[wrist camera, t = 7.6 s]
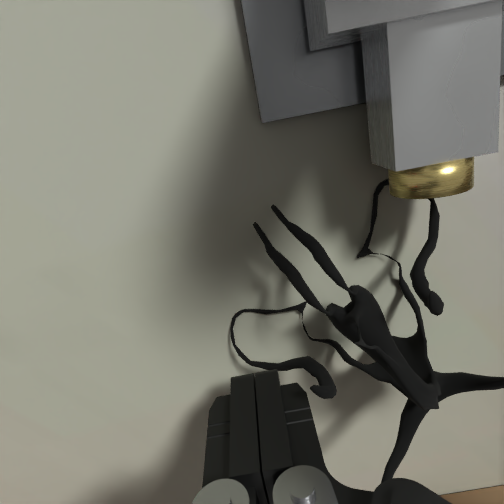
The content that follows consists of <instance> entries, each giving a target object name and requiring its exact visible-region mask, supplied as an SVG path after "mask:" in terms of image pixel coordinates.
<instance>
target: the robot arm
mask: <svg viewBox="0 0 504 504" xmlns="http://www.w3.org/2000/svg"><path fill="white" fill-rule="evenodd" d="M192 504H452V503H450V502H449V501H447V500H445V499H444V498H442V497H441V496H439V495H437V494H436V493H434V492H433V491H431V490H429V489H428V488H426V487H425V486H423V485H421V484H419V483H418V482H415V481H413V480H409V479H405V478H393V479H389V480H387V481H384V482H383V483H381V484H380V485H379V486H378V487H377V488H376V489H375V491H374V492H371V491H365V490H358V489H353V488H350V487H347V486H345V485H343V484H341V483H339V482H338V481H337V480H335V479H334V478H333V477H332V476H331V475H330V473H329V472H328V470H327V468H326V466H325V463H324V459H323V456H322V452H321V448H320V444H319V440H318V436H317V432H316V428H315V424H314V421H313V417H312V413H311V409H310V405H309V401H308V397H307V393H306V392H305V391H304V390H303V389H302V388H301V387H300V386H299V385H298V383H292V384H287V385H281V386H280V381H279V376H278V371H277V369H274V370H269V371H263V372H258V373H255V376H254V373H252V374H247V375H241V376H236V377H231V395H226V396H220V397H217V398H216V400H215V401H214V403H213V405H212V406H211V408H210V410H209V418H208V430H207V441H206V453H205V464H204V475H203V486H202V489H201V490H200V491H199V493H198V494H197V495H196V497H195V498H194V500H193V503H192Z"/></svg>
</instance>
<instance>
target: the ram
mask: <svg viewBox="0 0 504 504" xmlns="http://www.w3.org/2000/svg"><path fill="white" fill-rule="evenodd" d="M304 7H305V15H306V23H307V31H308V39H309V48H310V51H313V50H318V49H323V48H328V47H333V46H338V45H343V44H348V43H353V42H358V41H361V42H362V55H363V67H364V79H365V92H366V104H367V116H368V128H369V141H370V153H371V163H373V164H376V165H379V166H381V167H384V168H387V169H388V174H389V189H390V194H391V195H392V196H394V197H398V198H406V199H428V198H439V197H445V196H451V195H456V194H460V193H463V192H466V191H468V190H470V189H471V188H473V186H474V156H480V155H485V154H490V153H495V152H498V138H499V102H500V66H501V31H502V12H504V0H304Z"/></svg>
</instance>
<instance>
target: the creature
mask: <svg viewBox="0 0 504 504" xmlns="http://www.w3.org/2000/svg"><path fill="white" fill-rule="evenodd" d="M385 185H389V179H388V180H385V181H383V182H381V183H380V184H379V185H378V186H377V188H376V190H375V193H374V198H373V209H372V218H371V227H370V232H369V235H368V237H367V239H366V242H365V244H364V246H363V248H362V250H361V252H360V253H359V255H358V256H357V258H359V257H363V256H366V255H368V254H377V253H373V252H372V251H371V250H370V249H368V246H369V243H370V240H371V236H372V232H373V229H374V225H375V221H376V217H377V204H378V195H379V193H380V192H381V190H382V189H383V187H384V186H385ZM428 199H429V200H430V201H431V205H430V219H429V234H428V240H427V241H426V243H425V245H424V247H423V248H422V250H421V252H420V254H419V255H418V257H417V259H416V261H415V263H414V265H413V268H412V270H411V272H410V278H411V280H412V285H413V288H414V290H415V292H416V293H417V295H418V296H419V297H420V299H421V300H422V301H423V302H424V305H425V306H426V307H427V308H428V309H429V310H430V312H431V313H432V314H434V315H437V316H438V315H440V314H442V312H443V307H444V303H443V302H442V300H441V298H440V297H439V296H438V295H437V294H436V293H435V292H433V291H430V289H429V283H428V281H427V279H426V277H425V272H424V269H425V266H426V263H427V260H428V258H429V257H430V255H431V254H432V252H433V251H434V249H435V247H436V243H437V239H438V230H439V217H440V215H439V213H438V210H437V206H436V203H435V200H434V198H428ZM271 208H272V210H273V211H274V213H275V214H276V215H277V217H278V218H279V219H280V221H281V222H282V223H283V224H284V225H285V226H286V227H287V229H288V230H289V231H290V232H291V233H292V234H293V235H294V236H295V237H296V238H297V239H298V240H299V241H300V242H301V243H302V244H303V245H304V246H305V247H306V248H308V249H309V251H310V252H311V253H312V255H313V257H314V259H315V261H316V262H317V263H318V264H319V265H320V266H321V268H322V269H323V270H324V272H325V273H326V274H327V275H328V276H329V277H330V278H331V279H332V280H333V281H334V282H335V283H336V284H337V285H339V286H340V287H342V288H343V289H345V290H347V291H348V293H349V295H350V297H351V300H352V301H351V302H350V303H349V304H348V305H347V306H345V307H344V308H343V307H340V306H338V305H336V304H333V303H331V304H329V305H328V306H327V308H326V310H325V309H324V308H323V307H322V305H321V304H320V303H319V301H318V300H317V298H316V297H315V296H314V294H313V293H312V291H311V290H310V288H309V287H308V286H307V284H306V283H305V281H304V280H303V278H302V276H301V274H300V273H299V271H298V270H297V269H296V268H295V267H294V266H293V265H292V264H291V263H290V262H289V261H288V260H287V259H286V258H285V257H284V256H283V255H282V254H281V253H279V252H278V251H277V250H276V249H275V248H274V247H273V246H272V244H271V243H270V241H269V240H268V238H267V237H266V235H265V233H264V232H263V231H262V230H261V228H260V227H259V225H258V224H257V223H256V222H254V223H253V226H254V228H255V230H256V231H257V233H258V235H259V236H260V238H261V240H262V241H263V243H264V244H265V248H266V252H267V253H268V255H269V257H270V258H271V259H272V260H273V261H274V263H275V264H276V265H277V266H278V267H279V269H280V270H281V271H282V272H283V273H284V274H285V275H286V276H287V278H288V279H289V281H290V282H291V283H292V285H293V286H294V287H295V288H296V290H297V291H298V292H299V293H300V294H301V296H302V297H303V298H304V299H305V300H306V301H307V302H303V303H301V304H299V305H296V306H293V307H289V308H286V309H282V310H261V309H244V310H241V311H239V312H237V313H236V314H235V315H234V317H233V318H232V323H231V329H230V330H231V339H232V343H233V346H234V348H235V350H236V351H237V353H238V355H239V356H240V357H241V358H242V359H243V360H244V361H245V362H246V363H248V364H249V365H251V366H255V367H259V368H263V369H266V370H274V369H277V371H287V370H291V369H295V368H304V369H305V370H306V371H308V372H309V373H310V374H311V375H312V376H314V377H316V379H317V380H318V383H319V385H320V386H318V385H313V386H311V387H310V389H311V390H312V391H313V393H315V394H316V395H317V396H319V397H321V398H323V399H328V398H333V397H334V396H335V395H336V391H337V390H336V386H335V384H334V382H333V380H332V378H331V376H330V374H329V373H328V371H327V370H326V369H325V367H324V366H323V365H321V364H320V363H318V362H317V361H315V360H314V359H313V358H311V357H310V356H305V357H300V358H295V359H291V360H288V361H285V362H282V363H279V364H277V363H267V362H257V361H250V360H249V359H248V358H247V357H246V356H245V355H244V354H243V353H242V352H241V351H240V349H239V348H238V347H237V346H236V345H235V339H234V333H233V326H234V323H235V319H236V317H238V316H239V315H240V314H241V313H243V312H257V313H262V314H271V313H278V312H284V311H290V310H298V311H299V312H300V313H301V314H302V318H303V310H304V308H305V306H306V303H308V304H310V305H311V306H313V307H314V308H316V309H318V310H319V311H321V312H323V313H325V314H326V316H328V317H329V319H330V321H331V322H332V323H333V325H334V326H335V327H336V328H337V329H338V330H339V331H340V332H341V333H342V334H343V335H344V336H345V337H347V338H348V339H349V340H351V341H352V342H353V343H354V344H356V345H357V346H358V347H360V348H361V349H362V350H364V351H365V352H366V353H367V354H368V355H369V356H371V357H372V358H373V359H374V360H375V361H376V362H375V363H373V364H370V365H365V364H362V363H360V362H358V361H356V360H354V359H353V358H351V357H350V356H349V355H348V354H347V352H346V351H345V350H344V349H343V348H342V347H341V345H340V344H339V343H337V342H336V341H333V340H330V339H312V338H311V337H310V336H308V337H309V339H311V340H313V341H319V342H324V343H327V344H329V345H331V346H332V347H334V348H335V349H336V350H337V352H338V353H339V354H340V356H341V357H342V359H343V360H344V361H345V362H347V363H348V364H350V365H352V366H355V367H357V368H359V369H361V370H363V371H364V372H366V373H368V374H369V375H371V376H372V377H374V378H375V379H377V380H379V381H383V382H387V383H391V384H392V385H393V386H394V387H395V388H397V389H398V390H399V391H400V392H401V393H403V394H404V395H405V396H406V397H407V398H408V400H407V403H406V405H405V407H404V409H403V412H402V414H401V420H400V426H399V431H398V437H397V441H396V444H395V447H394V449H393V452H392V454H391V456H390V458H389V461H388V463H387V465H386V467H385V471H384V474H383V478H382V481H381V483H383V482H384V481H387V480H389V479H392V478H393V475H394V473H395V471H396V469H397V468H398V466H399V464H400V463H401V461H402V459H403V458H404V456H405V454H406V452H407V450H408V448H409V445H410V443H411V441H412V439H413V436H414V434H415V432H416V430H417V428H418V426H419V424H420V423H421V421H422V419H423V418H424V416H425V415H426V414H427V413H428V411H429V410H430V409H439V405H438V402H440V401H441V400H443V399H445V398H446V397H449V396H451V395H454V394H457V393H461V392H468V391H475V390H496V389H501V388H504V377H489V376H481V375H474V374H469V373H463V372H458V373H439V372H435V371H433V369H432V367H431V364H430V362H429V359H428V356H427V340H426V337H425V332H424V326H423V320H422V317H421V312H420V307H419V305H418V303H417V301H416V300H415V298H414V296H413V294H412V293H411V291H410V289H409V287H408V285H407V284H406V282H405V281H404V279H403V277H402V270H401V265H400V263H399V262H397V261H396V260H394V259H393V258H392V257H390V256H387V255H385V256H387V257H388V258H390V259H392V260H394V261H396V262H397V264H398V266H399V284H400V287H401V290H402V292H403V294H404V296H405V298H406V299H407V301H408V302H409V303H410V305H411V307H412V308H413V310H414V312H415V314H416V319H417V323H418V328H417V332H416V333H415V334H414V335H413V336H411V337H408V338H400V337H396V336H391V334H390V332H389V329H388V327H387V324H386V321H385V318H384V315H383V313H382V311H381V309H380V306H379V304H378V302H377V301H376V299H375V298H374V296H373V295H372V294H371V293H370V292H369V291H367V290H366V289H365V288H363V287H361V286H359V285H354V286H351V287H349V288H348V287H347V285H346V283H345V281H344V279H343V278H342V276H341V274H340V273H339V271H338V270H337V269H336V267H335V266H334V264H333V263H332V261H331V260H330V258H329V257H328V255H327V253H326V252H325V250H324V248H323V247H322V246H321V245H320V243H319V242H318V241H317V240H316V239H315V238H314V237H313V236H311V235H310V234H308V233H306V232H305V231H303V230H302V229H301V228H300V227H298V226H297V225H295V224H293V223H291V222H289V221H288V220H287V219H286V218H285V217H284V215H283V214H282V213H281V211H280V210H279V209H278V208H277V207H276V206H275V205H272V206H271ZM382 255H384V254H382ZM302 323H303V321H302ZM303 328H304V330H305V332H306V334H307V335H308V333H307V331H306V329H305V326H304V324H303Z"/></svg>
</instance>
